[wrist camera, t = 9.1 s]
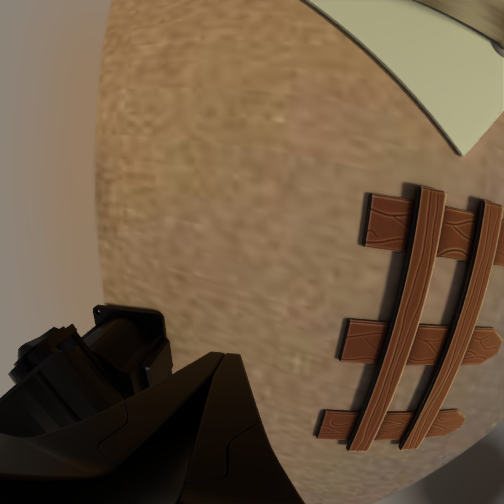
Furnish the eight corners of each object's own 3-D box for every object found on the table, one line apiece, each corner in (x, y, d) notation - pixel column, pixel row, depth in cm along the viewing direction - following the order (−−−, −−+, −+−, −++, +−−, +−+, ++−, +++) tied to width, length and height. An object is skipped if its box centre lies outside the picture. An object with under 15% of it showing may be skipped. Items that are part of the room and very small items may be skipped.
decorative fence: (313, 437, 26) (448, 434, 24) (313, 450, 24) (453, 445, 22) (368, 177, 20) (528, 212, 18) (375, 177, 18) (540, 216, 16)
